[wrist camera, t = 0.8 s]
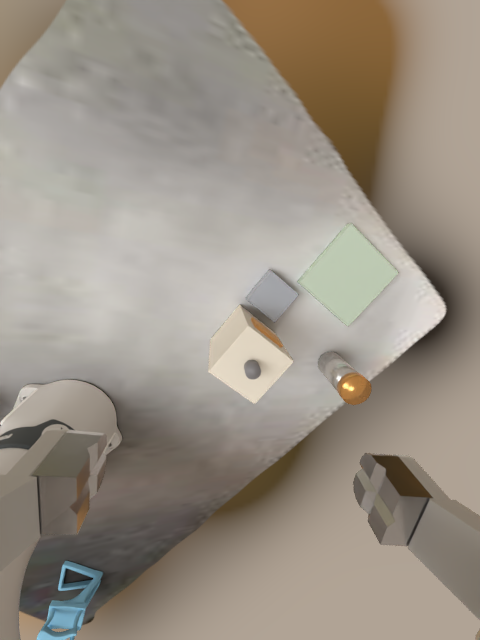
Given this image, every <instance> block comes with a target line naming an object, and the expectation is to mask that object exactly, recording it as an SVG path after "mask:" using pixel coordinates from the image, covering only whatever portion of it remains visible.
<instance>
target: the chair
mask: <svg viewBox="0 0 480 640" xmlns="http://www.w3.org/2000/svg"><path fill="white" fill-rule="evenodd" d="M66 568H67V569H70V570H73V571H76V572H78V573H81V574H84V575H86V576H89V577H92V578H93V580H87V581H80V582H74V583H67V584H64V583H63V582H64V577H65V572H66ZM102 575H103V572H101V571H97V570H94V569H91V568H88V567H85V566H82V565H79V564H76V563H73V562H70V561H65V562H64V564H63V566H62V571H61V577H60V582H59V587H58V590H60V591H64V590H73V589H80V588H85V589H84V590H83V591H82V592H81V593H80V594H79V595H78V596H77V597H75V598H73V599H70V600H65V601H55V600H52V602H51V604H50V606H49V612H48V618H47V621H46V623H45V624H44V626H43V627H42V629H41V631H40V632H39V634H38V637H37V640H65V639H67V638H69V637H70V640H74V637H75V636H76V635H77V630H80V629H81V626H82V623H83V618H84V614H85V610H86V607H87V605H88V604H89V602H90V600H91V599H92V597H93V595H94V593H95V592H96V590H97V588H98V587H99V585H100V583H101V580H100V579H101V577H102ZM57 628H62V629H69V630H67V631H64V632H55V631H52V630H51V629H57Z"/></svg>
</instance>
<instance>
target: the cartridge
mask: <svg viewBox="0 0 480 640" xmlns="http://www.w3.org/2000/svg"><path fill="white" fill-rule="evenodd" d="M318 368H319V370H320V371H321V372H322V373H323V374H324V376H325V377H326V378H327V379H328V380H329V382H330V383H331V384H332V385H333V387H334V388H335V389H336V390H337V391H338V393H339V395H340V396H341V397H342V398H343V400H344V401H345V402H346V403H348V404H352V405H356V404H360V403H362V402H364V401H365V400H366V399H367V398H368V397H369V396H370V393H371V384H370V382H369V381H368V380H367V379H366V378H365V377H364V376H362V375H361V374H359V373H358V372H357V371H356V370H355V369H354V368H353V367H352V366H350V365H349V364H348V363H347V362H346V361H345V360H344V359H343V358H342V357H340V356H339V355H338V354H337V353H335V352H326V353H324V354H323V355H321V356H320V358H319V360H318Z"/></svg>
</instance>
